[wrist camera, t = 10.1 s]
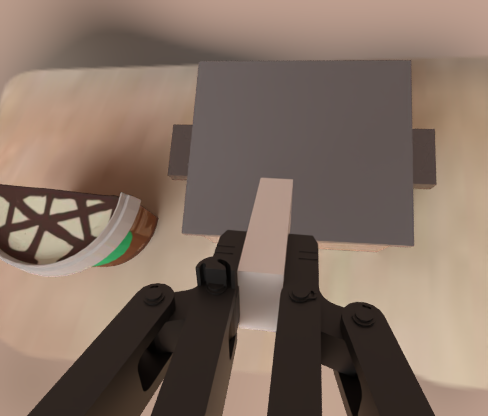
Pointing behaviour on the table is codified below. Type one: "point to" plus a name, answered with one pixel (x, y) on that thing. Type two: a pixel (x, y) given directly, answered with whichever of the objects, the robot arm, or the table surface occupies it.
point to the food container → (70, 229)
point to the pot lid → (304, 148)
